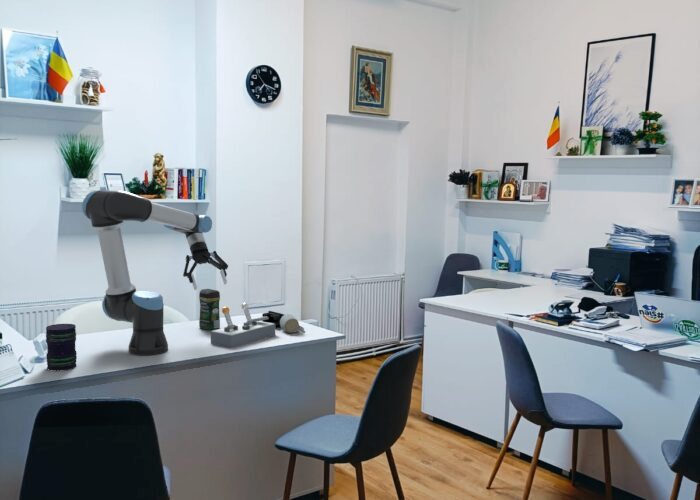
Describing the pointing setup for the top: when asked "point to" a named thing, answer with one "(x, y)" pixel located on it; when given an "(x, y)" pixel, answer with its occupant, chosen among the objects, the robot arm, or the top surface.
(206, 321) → the coffee jar
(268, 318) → the rocker grey
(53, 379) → the top surface
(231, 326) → the lever orange
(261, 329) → the console
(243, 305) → the silver ball lever
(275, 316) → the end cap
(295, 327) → the ceramic mug
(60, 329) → the storage jar
